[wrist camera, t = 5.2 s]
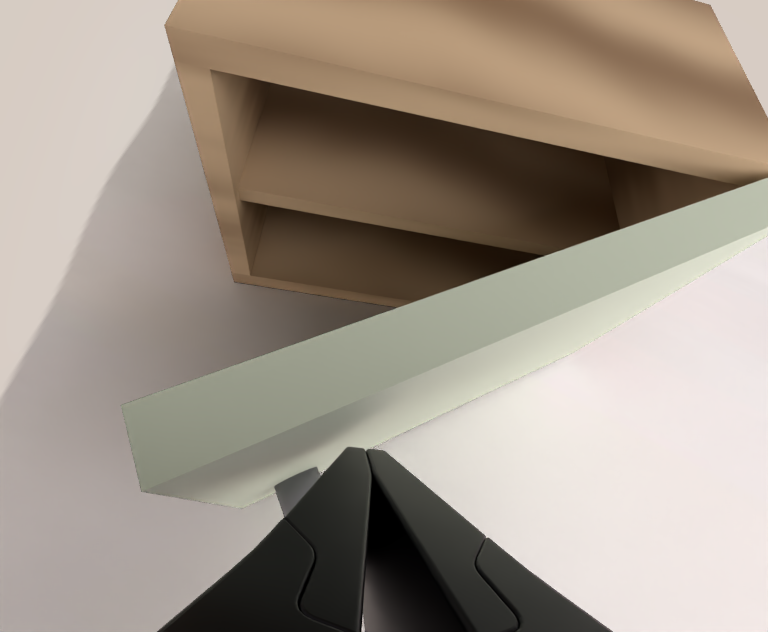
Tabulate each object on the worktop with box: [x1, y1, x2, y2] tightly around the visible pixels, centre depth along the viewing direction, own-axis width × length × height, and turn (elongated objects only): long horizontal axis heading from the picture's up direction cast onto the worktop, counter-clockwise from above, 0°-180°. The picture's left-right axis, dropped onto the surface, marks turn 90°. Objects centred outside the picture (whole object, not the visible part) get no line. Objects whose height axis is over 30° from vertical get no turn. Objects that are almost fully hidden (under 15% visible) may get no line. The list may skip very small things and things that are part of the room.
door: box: [121, 178, 768, 517], centre depth 13 cm, size 2×16×11 cm, turn 115°
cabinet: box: [165, 0, 768, 307], centre depth 17 cm, size 8×16×11 cm, turn 85°
